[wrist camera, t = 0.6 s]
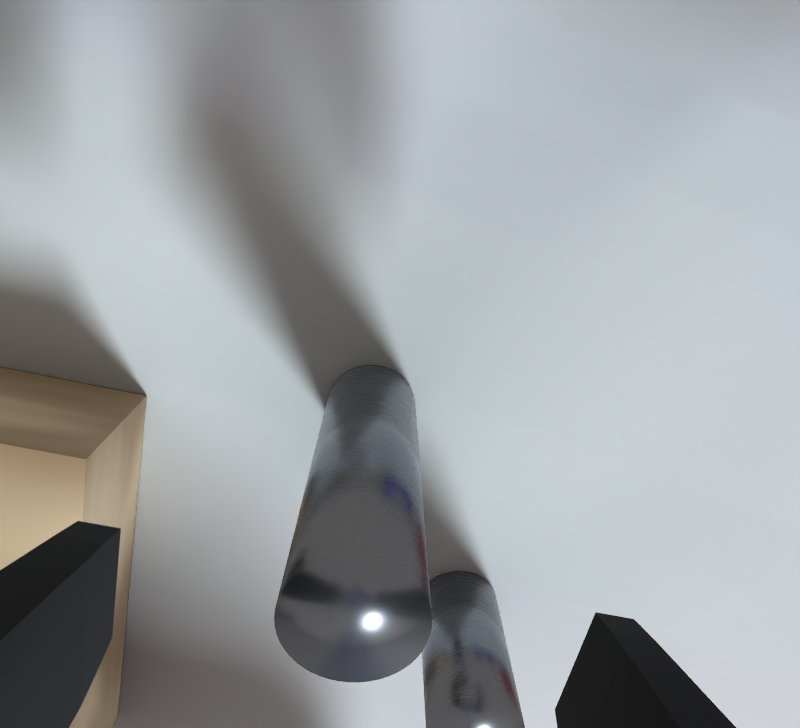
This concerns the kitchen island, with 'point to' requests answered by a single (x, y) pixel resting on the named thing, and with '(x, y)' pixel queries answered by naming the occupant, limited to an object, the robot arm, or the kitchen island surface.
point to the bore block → (72, 488)
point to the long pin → (360, 538)
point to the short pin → (467, 658)
